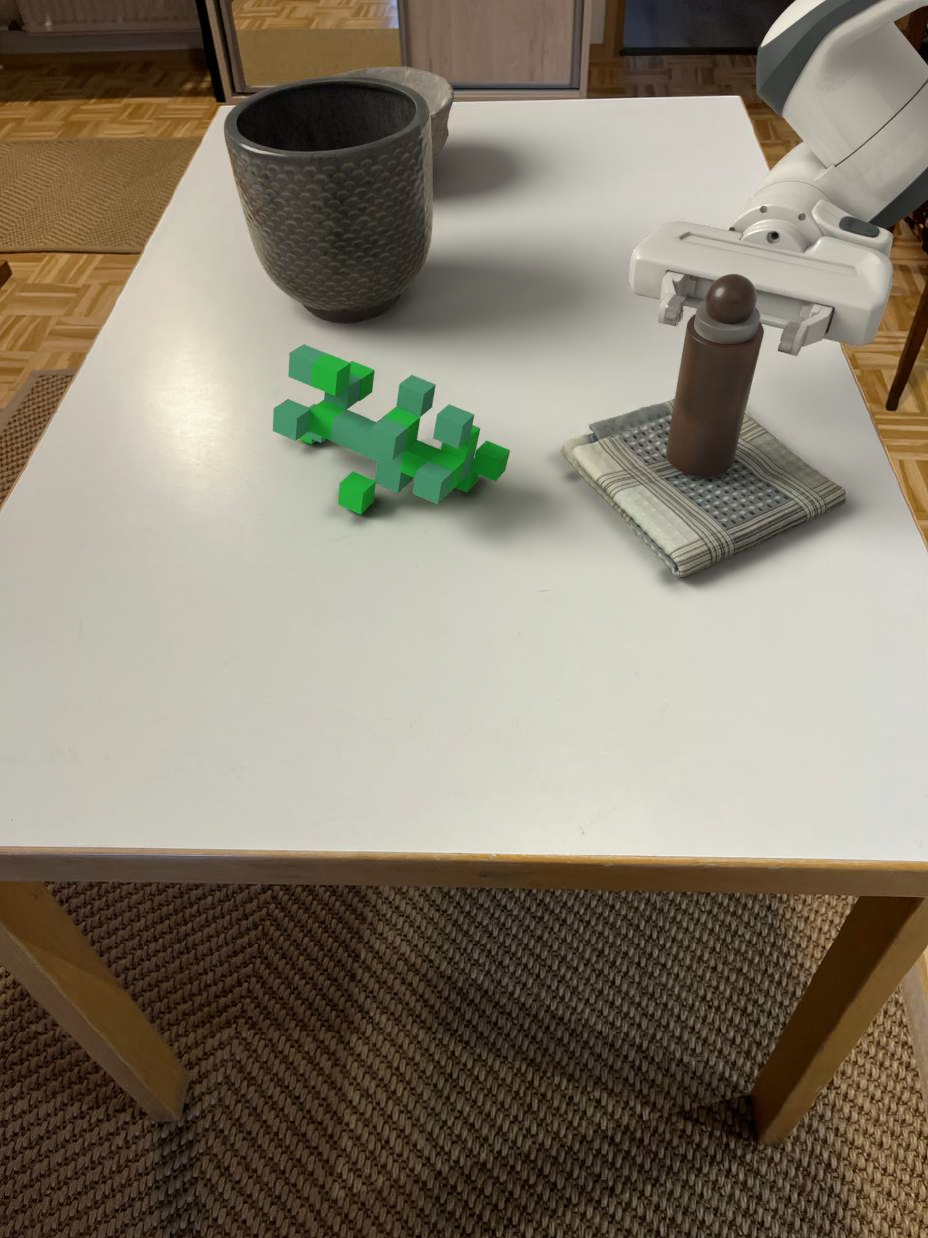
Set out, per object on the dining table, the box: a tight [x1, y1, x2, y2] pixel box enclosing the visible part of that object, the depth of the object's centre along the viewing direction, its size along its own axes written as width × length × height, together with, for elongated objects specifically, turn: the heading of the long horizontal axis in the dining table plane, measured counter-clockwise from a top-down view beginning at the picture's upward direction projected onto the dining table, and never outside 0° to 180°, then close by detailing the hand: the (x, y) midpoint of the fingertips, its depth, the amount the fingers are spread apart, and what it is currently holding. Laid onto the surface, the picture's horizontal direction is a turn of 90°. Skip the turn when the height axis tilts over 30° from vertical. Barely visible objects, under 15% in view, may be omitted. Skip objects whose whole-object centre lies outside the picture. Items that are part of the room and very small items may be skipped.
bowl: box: [329, 66, 455, 160], centre depth 118 cm, size 21×21×10 cm
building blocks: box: [272, 343, 511, 515], centre depth 78 cm, size 20×12×13 cm, turn 79°
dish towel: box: [560, 398, 847, 578], centre depth 78 cm, size 19×18×3 cm
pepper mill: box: [666, 274, 765, 477], centre depth 71 cm, size 6×6×16 cm
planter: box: [223, 75, 434, 323], centre depth 95 cm, size 20×20×19 cm
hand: (726, 330), depth 70 cm, fingers open, 8 cm apart
